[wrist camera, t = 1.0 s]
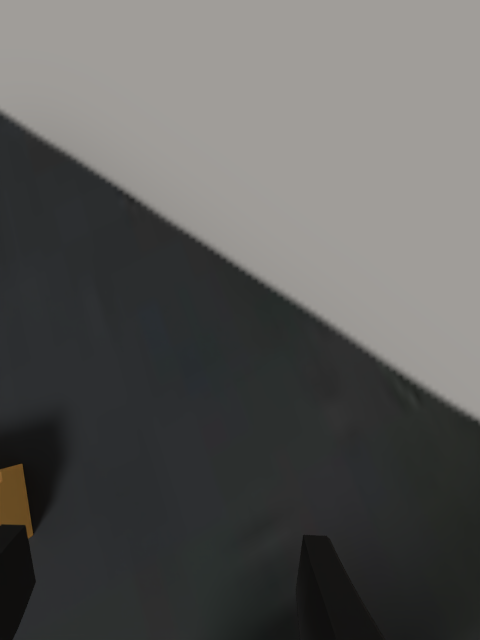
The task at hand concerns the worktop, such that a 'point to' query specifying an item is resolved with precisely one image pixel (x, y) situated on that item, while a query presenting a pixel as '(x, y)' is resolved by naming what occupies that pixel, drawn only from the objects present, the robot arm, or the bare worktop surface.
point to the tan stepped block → (14, 498)
